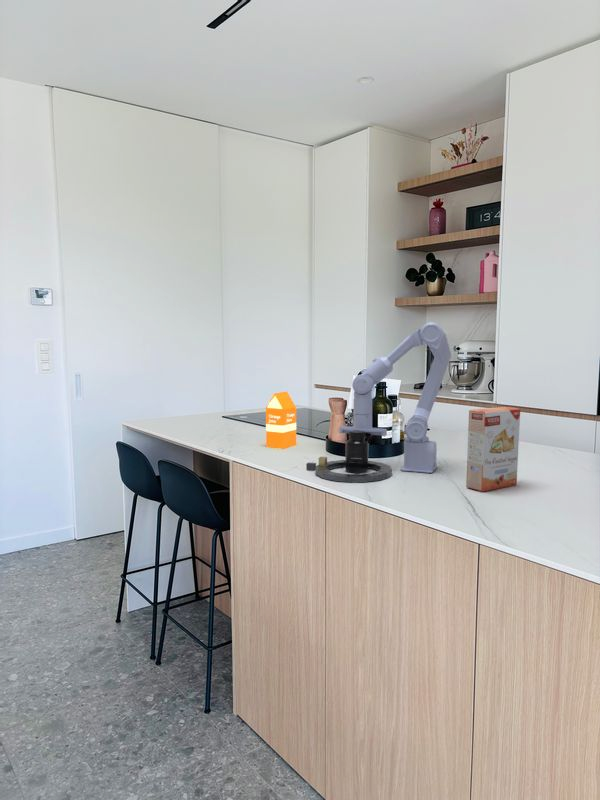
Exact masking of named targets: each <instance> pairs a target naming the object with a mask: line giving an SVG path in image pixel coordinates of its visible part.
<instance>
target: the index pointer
mask: <svg viewBox="0 0 600 800" xmlns="http://www.w3.org/2000/svg"><path fill="white" fill-rule="evenodd" d="M316 466H317V463H316V462H310V461H308V462H307V463H306V466H305V467H306V471H316Z"/></svg>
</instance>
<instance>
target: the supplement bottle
mask: <svg viewBox="0 0 600 800" xmlns="http://www.w3.org/2000/svg"><path fill="white" fill-rule="evenodd" d="M365 433H366V432H365V431H359V430H353V431H350V432H349V433H348V438H349V439H348V440H346V442H345V459H344V460H345V467H344V468H345V471H346V472H348V473H349V474H366V473H368V471H369V468H368V461H369V448H370V447H369V446H370V443H369V444H368V442H367V441H366V440H365V438H366V436H365Z"/></svg>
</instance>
